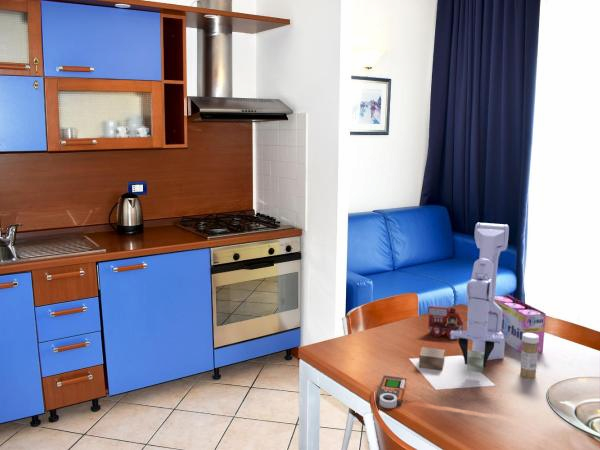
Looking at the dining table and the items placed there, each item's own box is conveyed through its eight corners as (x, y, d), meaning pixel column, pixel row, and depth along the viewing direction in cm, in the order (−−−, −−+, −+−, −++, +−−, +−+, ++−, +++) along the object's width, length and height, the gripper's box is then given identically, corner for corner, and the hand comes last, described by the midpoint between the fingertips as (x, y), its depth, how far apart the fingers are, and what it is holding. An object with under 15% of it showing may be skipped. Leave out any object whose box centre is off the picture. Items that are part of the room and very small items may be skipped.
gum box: (484, 329, 208) (486, 294, 206) (503, 328, 209) (506, 293, 207) (522, 354, 185) (525, 314, 182) (543, 352, 186) (547, 313, 184)
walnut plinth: (444, 361, 176) (444, 349, 175) (442, 370, 170) (442, 358, 169) (421, 358, 178) (422, 347, 178) (419, 367, 172) (419, 355, 171)
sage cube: (483, 366, 165) (484, 352, 164) (482, 372, 161) (483, 357, 160) (467, 364, 166) (468, 350, 166) (466, 370, 162) (467, 355, 161)
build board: (461, 357, 181) (461, 355, 181) (495, 387, 160) (495, 385, 160) (408, 361, 179) (408, 358, 178) (435, 392, 157) (435, 389, 157)
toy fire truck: (462, 339, 197) (463, 311, 196) (426, 336, 201) (427, 308, 199) (462, 333, 204) (463, 305, 202) (427, 330, 207) (428, 303, 205)
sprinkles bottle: (532, 374, 169) (535, 332, 167) (538, 381, 164) (541, 337, 162) (516, 374, 169) (519, 332, 167) (523, 381, 164) (526, 337, 162)
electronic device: (375, 399, 149) (383, 373, 163) (375, 409, 149) (383, 382, 163) (401, 402, 147) (407, 376, 161) (400, 412, 147) (406, 385, 161)
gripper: (450, 321, 160) (448, 366, 162) (504, 327, 155) (501, 373, 157) (452, 314, 166) (450, 357, 169) (504, 319, 162) (501, 363, 164)
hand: (475, 364), depth 163 cm, fingers closed on sage cube, 4 cm apart
